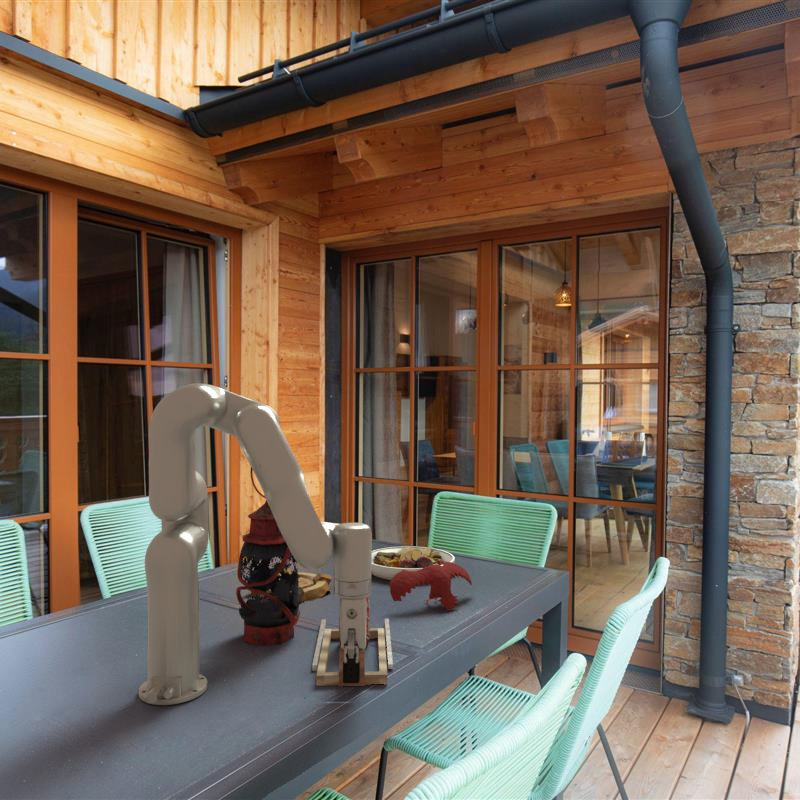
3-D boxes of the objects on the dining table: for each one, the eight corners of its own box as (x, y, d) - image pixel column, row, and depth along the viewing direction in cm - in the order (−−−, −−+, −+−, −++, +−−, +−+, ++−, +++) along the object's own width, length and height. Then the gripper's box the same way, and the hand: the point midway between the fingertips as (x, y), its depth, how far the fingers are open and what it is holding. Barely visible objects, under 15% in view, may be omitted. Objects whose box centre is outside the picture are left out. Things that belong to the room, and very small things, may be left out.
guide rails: (392, 670, 137) (392, 664, 137) (312, 671, 136) (312, 665, 136) (388, 624, 165) (388, 618, 165) (321, 624, 164) (321, 619, 164)
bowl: (350, 565, 223) (350, 542, 223) (429, 557, 235) (429, 535, 235) (384, 589, 196) (384, 563, 196) (471, 578, 208) (471, 553, 208)
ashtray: (234, 590, 193) (234, 573, 193) (302, 576, 209) (302, 560, 209) (276, 610, 176) (276, 592, 176) (347, 593, 192) (347, 576, 191)
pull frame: (387, 686, 129) (387, 650, 129) (316, 687, 128) (316, 651, 128) (384, 636, 156) (384, 607, 156) (325, 637, 155) (325, 607, 155)
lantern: (313, 633, 158) (314, 447, 158) (272, 654, 145) (273, 451, 145) (264, 622, 166) (265, 444, 165) (221, 640, 153) (222, 448, 153)
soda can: (365, 652, 147) (365, 599, 146) (335, 650, 148) (335, 597, 148) (372, 641, 153) (372, 590, 153) (343, 638, 155) (343, 588, 155)
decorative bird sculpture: (478, 612, 187) (455, 566, 196) (495, 596, 182) (470, 549, 190) (399, 633, 171) (377, 581, 179) (415, 616, 165) (391, 564, 173)
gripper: (371, 599, 122) (370, 691, 122) (371, 574, 139) (370, 654, 139) (331, 599, 121) (330, 691, 121) (335, 574, 139) (335, 654, 139)
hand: (351, 671), depth 130 cm, fingers open, 9 cm apart
